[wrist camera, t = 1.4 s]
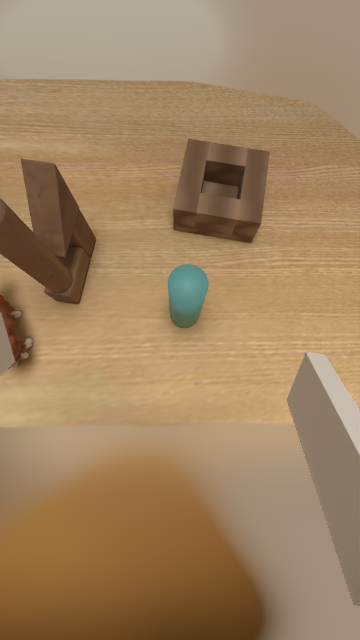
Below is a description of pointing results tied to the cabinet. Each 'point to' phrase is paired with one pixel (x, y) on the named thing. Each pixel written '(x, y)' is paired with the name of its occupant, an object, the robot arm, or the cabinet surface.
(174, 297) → the peg
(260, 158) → the socket block
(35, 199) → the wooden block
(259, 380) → the cabinet surface
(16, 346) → the bull figurine
